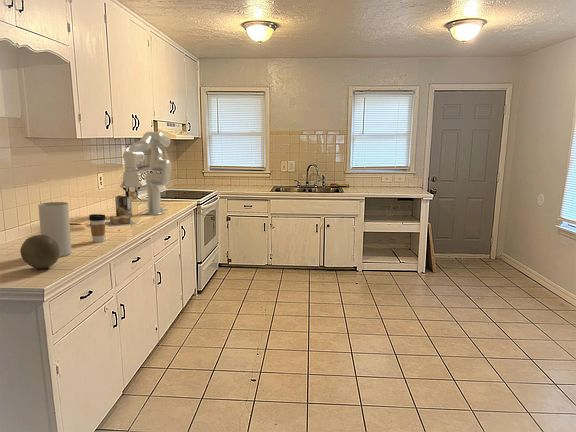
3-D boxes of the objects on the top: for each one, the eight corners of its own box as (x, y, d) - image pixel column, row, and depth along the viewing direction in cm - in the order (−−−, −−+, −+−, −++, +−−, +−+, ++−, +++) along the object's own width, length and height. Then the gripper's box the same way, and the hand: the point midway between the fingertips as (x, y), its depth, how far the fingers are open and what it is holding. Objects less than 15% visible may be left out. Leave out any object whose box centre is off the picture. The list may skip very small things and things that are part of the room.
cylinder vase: (64, 249, 213) (61, 201, 208) (76, 254, 205) (72, 204, 201) (38, 254, 203) (34, 203, 199) (48, 259, 195) (44, 206, 191)
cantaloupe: (34, 264, 188) (31, 231, 185) (66, 264, 189) (64, 232, 186) (15, 273, 174) (12, 238, 172) (50, 274, 175) (47, 239, 172)
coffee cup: (90, 240, 234) (89, 213, 231) (106, 239, 237) (105, 213, 235) (90, 243, 226) (88, 216, 224) (107, 242, 230) (105, 215, 227)
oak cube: (134, 198, 288) (134, 191, 287) (136, 199, 284) (136, 192, 283) (126, 198, 285) (126, 191, 284) (129, 199, 281) (128, 192, 280)
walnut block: (125, 221, 282) (125, 215, 282) (130, 223, 274) (129, 217, 274) (110, 222, 276) (109, 216, 276) (114, 225, 268) (113, 219, 268)
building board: (129, 221, 287) (129, 219, 287) (137, 226, 274) (137, 224, 274) (103, 224, 277) (103, 222, 277) (109, 228, 264) (109, 226, 264)
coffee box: (132, 218, 302) (131, 195, 299) (128, 219, 295) (127, 197, 293) (120, 217, 303) (119, 195, 300) (115, 219, 296) (114, 196, 293)
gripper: (141, 169, 289) (142, 195, 292) (116, 169, 279) (117, 196, 282) (145, 170, 283) (146, 196, 286) (119, 170, 273) (120, 198, 276)
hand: (131, 196), depth 284 cm, fingers closed on oak cube, 5 cm apart
